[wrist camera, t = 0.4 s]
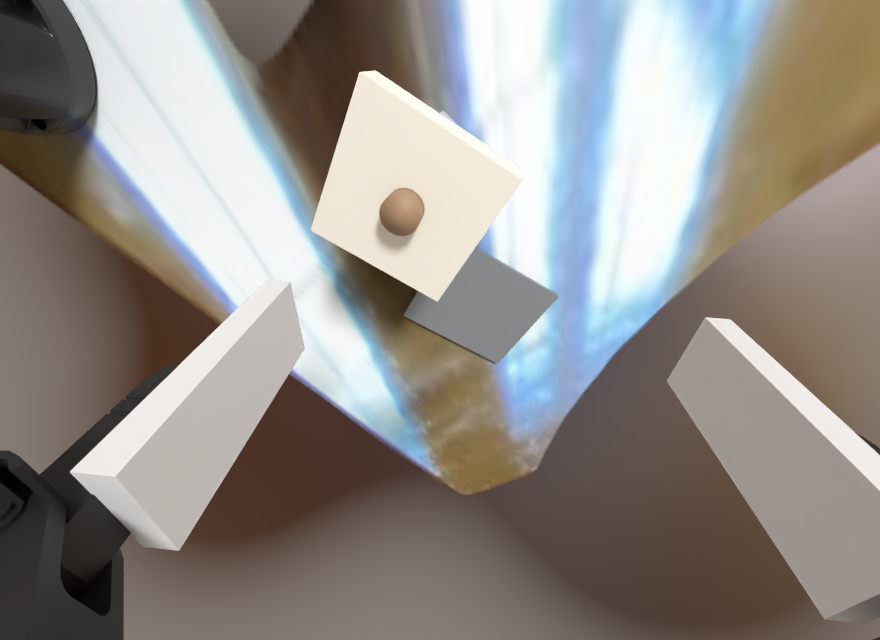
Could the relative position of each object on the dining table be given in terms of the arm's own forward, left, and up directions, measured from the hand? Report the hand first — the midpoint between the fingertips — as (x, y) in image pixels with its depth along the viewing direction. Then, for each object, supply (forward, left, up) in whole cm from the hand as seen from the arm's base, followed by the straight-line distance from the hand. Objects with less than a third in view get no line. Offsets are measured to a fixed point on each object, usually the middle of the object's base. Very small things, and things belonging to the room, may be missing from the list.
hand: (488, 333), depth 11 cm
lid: (-4, -2, -14) cm, 15 cm away
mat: (+8, -13, -26) cm, 30 cm away
